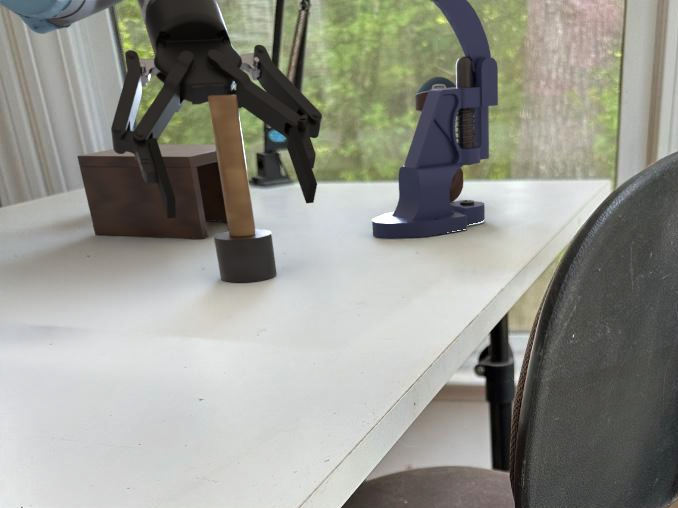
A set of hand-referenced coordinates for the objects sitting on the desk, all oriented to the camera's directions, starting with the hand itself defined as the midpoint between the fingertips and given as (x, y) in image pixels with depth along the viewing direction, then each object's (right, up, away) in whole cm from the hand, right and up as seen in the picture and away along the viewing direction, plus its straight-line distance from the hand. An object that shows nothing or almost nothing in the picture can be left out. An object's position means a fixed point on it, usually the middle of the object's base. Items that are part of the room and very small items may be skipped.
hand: (243, 201), depth 85 cm
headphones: (+19, +17, +40) cm, 47 cm away
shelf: (-16, +10, +30) cm, 36 cm away
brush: (-1, -5, +6) cm, 8 cm away
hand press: (+17, +7, +24) cm, 30 cm away
